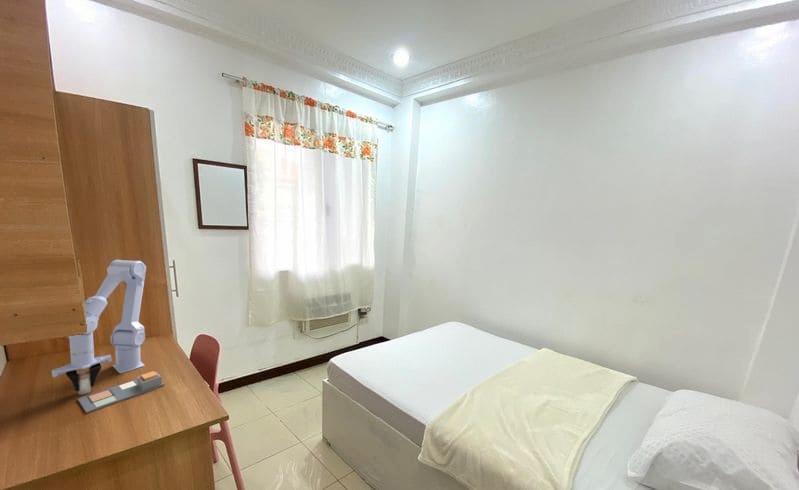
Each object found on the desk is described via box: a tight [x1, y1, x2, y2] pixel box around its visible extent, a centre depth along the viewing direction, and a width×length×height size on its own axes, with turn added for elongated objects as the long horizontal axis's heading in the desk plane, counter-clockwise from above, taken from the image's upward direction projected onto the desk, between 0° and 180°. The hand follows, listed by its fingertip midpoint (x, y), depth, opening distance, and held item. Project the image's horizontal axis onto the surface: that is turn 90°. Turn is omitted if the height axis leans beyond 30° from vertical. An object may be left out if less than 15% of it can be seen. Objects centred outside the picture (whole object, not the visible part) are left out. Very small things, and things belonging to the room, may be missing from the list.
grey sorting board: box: [77, 371, 165, 414], centre depth 112 cm, size 11×21×4 cm, turn 145°
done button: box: [140, 370, 157, 381], centre depth 116 cm, size 4×4×2 cm
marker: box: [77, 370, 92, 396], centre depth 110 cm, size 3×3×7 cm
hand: (84, 387), depth 111 cm, fingers closed on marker, 3 cm apart
